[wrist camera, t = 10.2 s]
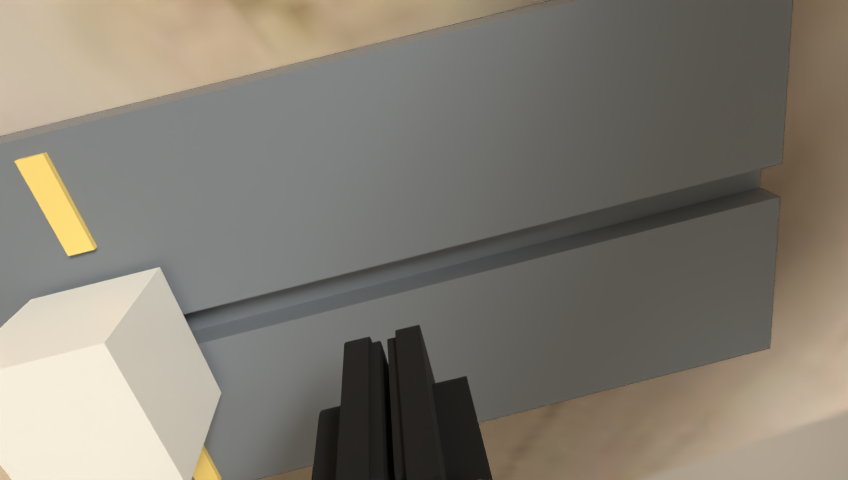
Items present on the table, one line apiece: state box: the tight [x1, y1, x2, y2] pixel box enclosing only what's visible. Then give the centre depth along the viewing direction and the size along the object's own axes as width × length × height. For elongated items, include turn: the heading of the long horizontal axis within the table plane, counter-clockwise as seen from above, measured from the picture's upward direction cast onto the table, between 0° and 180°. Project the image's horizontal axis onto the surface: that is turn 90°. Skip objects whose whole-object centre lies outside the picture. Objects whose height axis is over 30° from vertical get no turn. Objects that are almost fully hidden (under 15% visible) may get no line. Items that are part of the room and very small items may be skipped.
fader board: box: [0, 0, 793, 480], centre depth 19 cm, size 26×14×3 cm, turn 103°
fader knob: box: [0, 267, 221, 480], centre depth 16 cm, size 4×5×5 cm
